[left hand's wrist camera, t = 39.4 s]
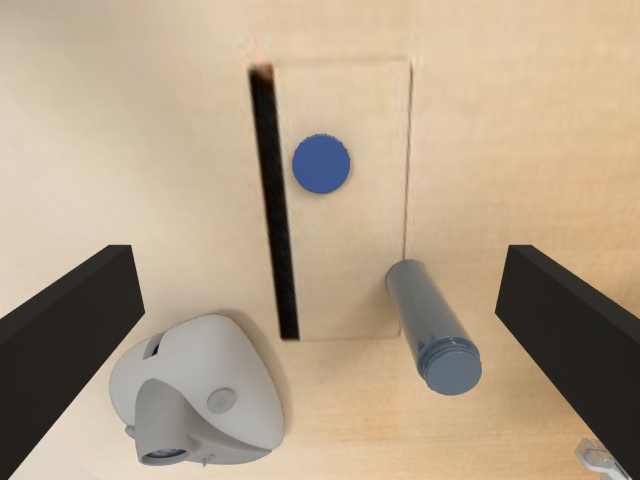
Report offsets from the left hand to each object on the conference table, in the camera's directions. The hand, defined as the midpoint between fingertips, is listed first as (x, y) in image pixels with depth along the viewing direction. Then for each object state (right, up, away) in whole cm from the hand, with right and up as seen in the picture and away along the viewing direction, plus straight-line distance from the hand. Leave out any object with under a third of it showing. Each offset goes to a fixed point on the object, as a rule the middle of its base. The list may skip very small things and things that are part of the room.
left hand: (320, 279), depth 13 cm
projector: (-13, -17, +36) cm, 42 cm away
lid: (0, +9, +24) cm, 26 cm away
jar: (+10, -3, +30) cm, 32 cm away
